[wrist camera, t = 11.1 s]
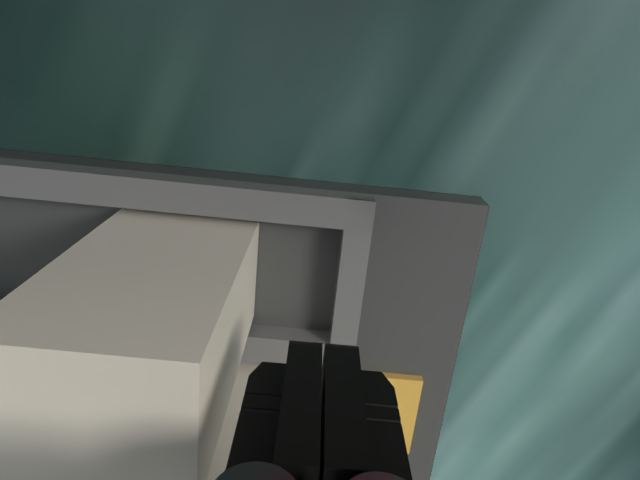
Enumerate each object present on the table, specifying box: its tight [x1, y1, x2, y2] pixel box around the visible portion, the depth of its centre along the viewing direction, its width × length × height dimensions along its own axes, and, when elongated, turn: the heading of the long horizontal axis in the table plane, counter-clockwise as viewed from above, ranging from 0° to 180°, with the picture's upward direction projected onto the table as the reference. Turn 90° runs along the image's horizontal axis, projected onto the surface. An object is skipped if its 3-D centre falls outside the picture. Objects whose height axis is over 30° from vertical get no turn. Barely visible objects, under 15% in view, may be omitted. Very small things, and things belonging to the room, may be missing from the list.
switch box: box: [0, 149, 490, 480], centre depth 18 cm, size 20×15×2 cm
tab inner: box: [0, 208, 260, 480], centre depth 12 cm, size 4×3×8 cm
